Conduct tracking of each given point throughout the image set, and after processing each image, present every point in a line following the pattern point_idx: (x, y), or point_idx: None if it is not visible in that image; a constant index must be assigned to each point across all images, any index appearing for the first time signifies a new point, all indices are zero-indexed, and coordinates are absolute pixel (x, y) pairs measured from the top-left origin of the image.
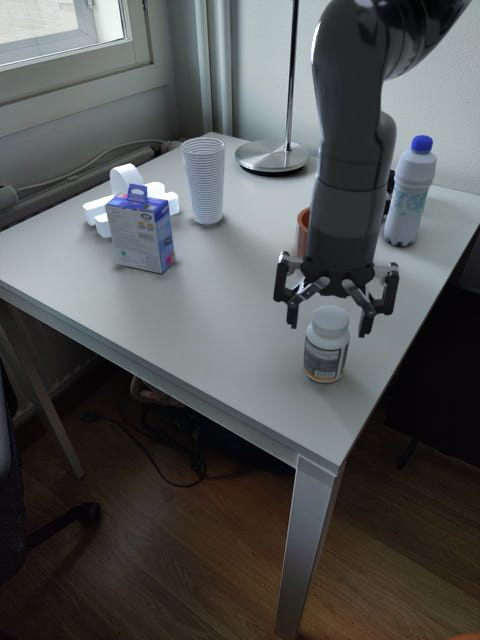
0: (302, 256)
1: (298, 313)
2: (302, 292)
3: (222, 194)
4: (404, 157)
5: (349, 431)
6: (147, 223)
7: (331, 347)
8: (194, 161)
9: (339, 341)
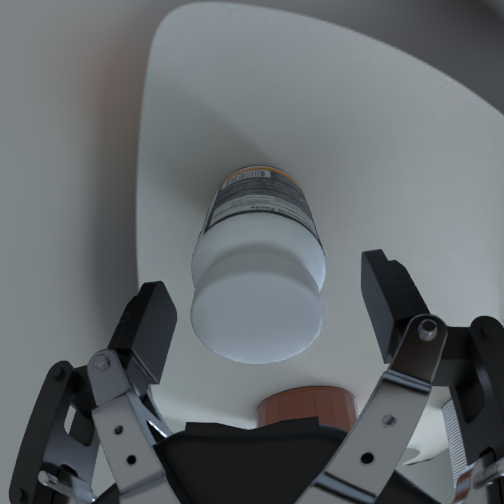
0: (347, 410)
1: (367, 309)
2: (420, 410)
3: (448, 434)
4: None
5: (156, 69)
6: None
7: (230, 223)
8: None
9: (209, 251)
